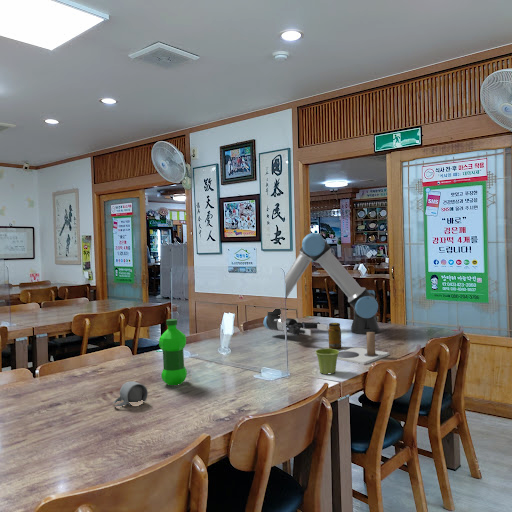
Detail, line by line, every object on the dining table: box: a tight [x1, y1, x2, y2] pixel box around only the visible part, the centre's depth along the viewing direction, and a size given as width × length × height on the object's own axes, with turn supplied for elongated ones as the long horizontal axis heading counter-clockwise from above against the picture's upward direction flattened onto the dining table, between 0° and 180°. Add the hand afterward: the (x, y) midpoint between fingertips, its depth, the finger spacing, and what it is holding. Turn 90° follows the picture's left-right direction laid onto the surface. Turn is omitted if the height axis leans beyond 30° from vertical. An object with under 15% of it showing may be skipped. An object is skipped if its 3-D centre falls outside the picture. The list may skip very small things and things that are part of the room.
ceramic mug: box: [112, 380, 149, 406], centre depth 162 cm, size 11×8×8 cm
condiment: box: [325, 322, 348, 352], centre depth 227 cm, size 7×8×12 cm
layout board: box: [337, 332, 390, 365], centre depth 211 cm, size 20×18×11 cm
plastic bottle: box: [158, 318, 188, 386], centre depth 182 cm, size 10×11×25 cm
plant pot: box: [315, 348, 340, 375], centre depth 189 cm, size 9×9×9 cm
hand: (319, 330), depth 234 cm, fingers open, 13 cm apart
